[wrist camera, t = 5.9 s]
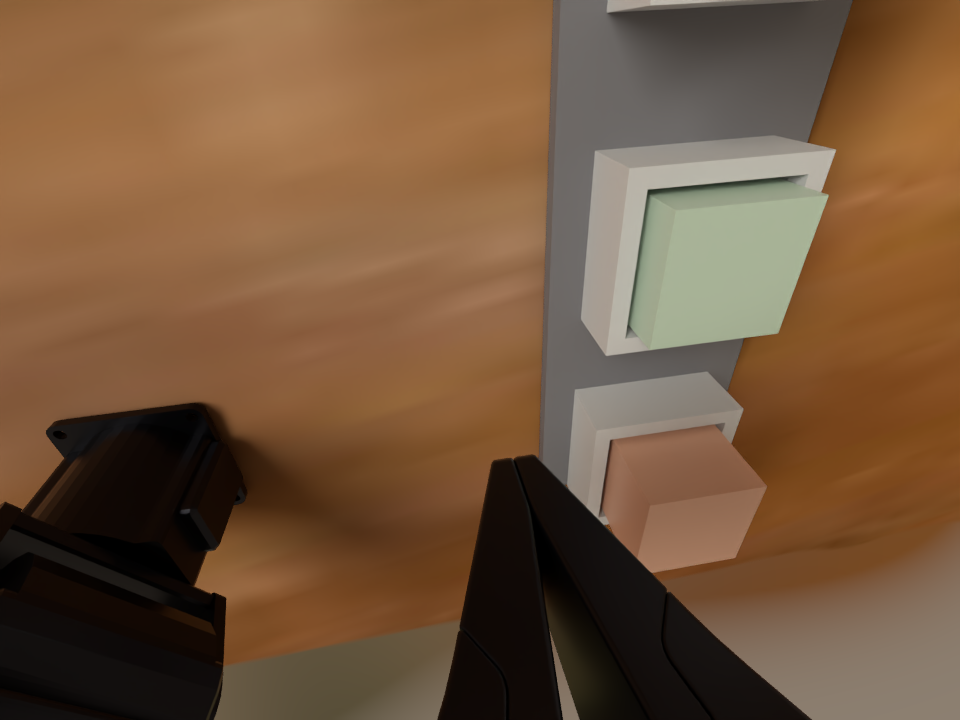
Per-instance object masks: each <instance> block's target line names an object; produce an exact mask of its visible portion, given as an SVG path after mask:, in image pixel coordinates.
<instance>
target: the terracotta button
mask: <svg viewBox="0 0 960 720" xmlns="http://www.w3.org/2000/svg"><path fill="white" fill-rule="evenodd" d="M766 488H767V485H766V484H765V483H764V482H763V481H762V480H761V478H760V477H759V476H758V475H757V474H756V472H755V471H754V470H753V469H752V468H751V467H750V465H749V464H748V463H747V462H746V461H745V460H744V458H743V457H742V456H741V455H740V454H739V452H738V451H737V450H736V449H735V448H734V447H733V445H732V444H731V443H730V442H729V441H728V440H727V438H726V437H725V436H724V435H723V434H722V432H721V431H720V430H719V429H718V428H717V427H716V425H715V424H713V425H706V426H699V427H693V428H686V429H679V430H673V431H666V432H659V433H653V434H646V435H639V436H632V437H626V438H619V439H612V440H611V442H610V449H609V455H608V462H607V468H606V475H605V482H604V488H603V495H602V501H601V507H602V509H603V511H604V513H605V515H606V518H607V520H608V522H609V524H610V527H611V529H612V531H613V533H614V535H615V537H616V538H617V539H618V540H619V541H620V542H621V543H622V544H623V545H624V546H625V547H626V548H627V549H628V550H629V551H630V552H631V553H632V554H633V555H634V556H635V557H636V558H637V559H638V560H639V561H640V562H641V563H642V564H643V565H644V566H645V567H646V568H647V569H648V570H649V571H650V572H651V573H654V572H659V571H665V570H671V569H676V568H682V567H687V566H693V565H698V564H704V563H710V562H715V561H721V560H726V559H732V558H735V557H736V555H737V553H738V550H739V548H740V546H741V544H742V541H743V539H744V537H745V535H746V533H747V530H748V528H749V526H750V524H751V521H752V519H753V517H754V515H755V513H756V510H757V508H758V506H759V504H760V502H761V499H762V497H763V495H764V493H765V490H766Z"/></svg>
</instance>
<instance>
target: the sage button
mask: <svg viewBox="0 0 960 720" xmlns="http://www.w3.org/2000/svg"><path fill="white" fill-rule="evenodd" d="M828 196H829V195H827V194H824V193H821V192H818V191H815V190H812V189H809V188H806V187H803V186H800V185H798V184H795V183H792V182H789V181H786V180H783V179H780V178H777V177H775V178H764V179H754V180H743V181H733V182H722V183H712V184H701V185H691V186H680V187H670V188H659V189H649V190H647V197H646V204H645V210H644V217H643V224H642V230H641V237H640V244H639V250H638V257H637V264H636V270H635V277H634V284H633V290H632V297H631V303H630V310H629V317H628V323H627V324H628V325H629V326H630V327H631V329H632V330H633V331H634V332H635V333H636V334H637V336H638V337H639V338H640V339H641V340H642V342H643V343H644V344H645V345H646V346H647V348H648V349H649V350H655V349H662V348H670V347H678V346H685V345H693V344H701V343H708V342H716V341H724V340H731V339H739V338H746V337H754V336H762V335H769V334H777V333H778V332H779V329H780V327H781V324H782V321H783V319H784V316H785V313H786V310H787V308H788V305H789V302H790V300H791V297H792V294H793V291H794V289H795V286H796V283H797V280H798V278H799V275H800V272H801V270H802V267H803V264H804V261H805V259H806V256H807V253H808V251H809V248H810V245H811V242H812V240H813V237H814V234H815V231H816V229H817V226H818V223H819V221H820V218H821V215H822V212H823V210H824V207H825V204H826V202H827V199H828Z"/></svg>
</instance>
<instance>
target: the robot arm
mask: <svg viewBox="0 0 960 720" xmlns="http://www.w3.org/2000/svg"><path fill="white" fill-rule="evenodd" d="M190 413H193V414H196V415H197V416H193V415H191V414H190ZM61 431H62V432H61ZM46 434H47V437H48V438H49V439H50V440H51V442H52V443H53V444H54V445H55V447H56V448H57V449H58V450H59V452H60V453H61V454H62V456H63V457H64V459H63V461H62V462H61V463H60V464H59V466H58V467H57V468H56V469H55V471H54V472H53V473H52V474H51V476H50V477H49V478H48V479H47V481H46V482H45V483H44V484H43V486H42V487H41V488H40V489H39V491H38V492H37V493H36V494H35V496H34V497H33V498H32V499H31V500H30V502H29V503H28V504H27V505H26V507H25V508H24V509H23V510H22V509H21V508H18V507H16V506H14V505H11V504H9V503H7V502H4V503H2V504H1V505H0V720H214V717H215V715H216V712H217V708H218V705H219V701H220V697H221V691H222V681H223V680H222V679H223V659H224V637H225V615H226V597H224V596H221V595H219V594H217V593H212V594H210V593H208V592H206V591H203V590H201V589H199V588H196V587H194V586H195V583H196V581H197V578H198V575H199V572H200V570H201V567H202V564H203V562H204V559H205V556H206V554H207V551H213V550H216V548H217V547H218V546H219V544H220V542H221V539H222V536H223V534H224V531H225V528H226V525H227V522H228V519H229V517H230V514H231V511H232V508H233V505H237V504H241V503H243V502H244V501H245V499H246V496H247V489H246V487H245V485H244V483H243V481H242V480H243V476H242V474H241V472H240V470H239V468H238V466H237V464H236V462H235V460H234V458H233V456H232V454H231V452H230V450H229V448H228V446H227V444H226V443H225V442H224V441H222V440H221V438H220V436H219V434H218V432H217V430H216V428H215V426H214V424H213V422H212V420H211V418H210V416H209V414H208V412H207V410H206V409H205V408H204V407H203V406H201V405H199V404H196V403H190V404H182V405H174V406H166V407H159V408H151V409H143V410H136V411H128V412H120V413H112V414H105V415H97V416H89V417H81V418H74V419H66V420H59V421H55V422H54V423H53V424H52V425H51V426H50V427H49V428H48V429H47V430H46ZM21 511H22V512H21ZM549 629H550V631H549ZM550 632H551V635H552V638H553V641H554V644H555V647H556V650H557V653H558V656H559V659H560V662H561V665H562V668H563V671H564V674H565V677H566V680H567V683H568V686H569V689H570V691H571V695H572V698H573V700H574V704H575V707H576V710H577V713H578V716H579V719H580V720H812V719H810V718H809V717H808V716H807V715H806V714H805V713H803V712H802V711H801V710H800V709H799V708H797V707H796V706H795V705H794V704H793V703H792V702H790V701H789V700H788V699H787V698H786V697H784V696H783V695H782V694H781V693H780V692H779V691H778V690H776V689H775V688H774V687H773V686H772V685H770V684H769V683H768V682H767V681H766V680H765V679H763V678H762V677H761V676H760V675H759V674H758V673H756V672H755V671H754V670H753V669H751V668H750V667H749V666H748V665H747V664H746V663H745V662H744V661H743V660H741V659H740V658H739V657H738V656H737V655H735V654H734V653H733V652H732V651H731V650H730V649H729V648H728V647H727V646H726V645H724V644H723V643H722V642H721V641H720V640H719V639H718V638H716V637H715V636H714V635H713V634H712V633H711V632H710V631H709V630H708V629H707V628H706V627H705V626H704V625H703V624H702V623H701V622H700V621H699V620H698V619H697V618H696V617H695V616H694V615H693V614H692V613H691V612H690V611H689V610H687V608H686V607H685V606H684V605H683V604H682V603H681V602H680V601H679V600H678V599H677V598H676V597H675V596H674V595H673V594H672V593H671V592H667V589H666V587H665V586H664V585H663V584H662V583H661V582H660V581H659V580H658V579H657V578H656V577H655V576H654V575H653V574H652V573H651V572H650V571H649V570H648V569H647V568H646V567H645V566H644V565H643V564H642V563H641V562H640V561H639V560H638V559H637V558H636V557H635V556H634V555H633V554H632V553H631V552H630V551H629V550H628V549H627V548H626V547H625V546H624V545H623V544H622V543H621V542H620V541H619V540H618V539H617V538H616V537H615V536H614V535H613V534H612V533H611V532H610V530H609V529H608V528H607V527H606V526H605V525H604V524H603V523H602V522H601V521H600V520H599V519H598V518H597V517H596V516H595V515H594V514H593V513H592V512H591V511H590V510H589V509H588V508H587V507H586V506H585V505H584V504H583V503H582V502H581V501H580V500H579V499H578V498H577V497H576V496H575V495H574V494H573V493H572V492H571V491H570V490H569V489H568V488H567V487H566V486H565V485H564V484H563V483H562V482H561V481H560V480H559V479H558V478H557V477H556V476H555V475H554V474H553V473H552V472H551V471H550V470H549V469H548V468H547V467H546V466H545V465H544V464H543V463H542V462H541V461H540V460H539V459H538V458H537V457H536V456H535V455H525V456H519V457H515V458H514V460H513V459H512V458H505V459H498V460H494V461H493V462H492V464H491V469H490V474H489V479H488V484H487V489H486V494H485V499H484V504H483V509H482V514H481V520H480V525H479V530H478V535H477V540H476V545H475V550H474V555H473V560H472V565H471V571H470V576H469V581H468V586H467V591H466V596H465V601H464V606H463V611H462V616H461V622H460V631H459V632H458V635H457V640H456V646H455V651H454V656H453V660H452V665H451V669H450V673H449V678H448V682H447V687H446V691H445V695H444V698H443V702H442V706H441V708H440V712H439V716H438V720H563V717H562V710H561V704H560V697H559V691H558V684H557V677H556V671H555V664H554V657H553V652H552V645H551V638H550Z"/></svg>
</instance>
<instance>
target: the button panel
mask: <svg viewBox="0 0 960 720" xmlns="http://www.w3.org/2000/svg"><path fill="white" fill-rule="evenodd" d="M852 2H853V0H553V30H552V62H551V94H550V126H549V157H548V189H547V221H546V253H545V284H544V316H543V348H542V380H541V412H540V443H539V460H540V461H541V462H542V463H543V464H544V465H545V466H546V467H547V468H548V469H549V470H550V471H551V472H552V473H553V474H554V475H555V476H556V477H557V478H558V479H559V480H560V481H561V482H562V483H563V484H564V485H566V484H567V485H568V488H569V490H570V491H571V492H572V493H573V494H574V495H575V496H576V497H577V498H578V499H579V500H580V501H581V502H582V503H583V504H584V505H585V506H586V507H587V508H588V509H589V510H590V511H591V512H592V513H593V514H594V515H595V516H596V517H597V518H598V519H599V520H600V521H601V522H602V523H603V524H604V525H606V524H609V522H608V520H607V518H606V515H605V513H604V511H603V509H602V507H601V501H602V495H603V488H604V482H605V475H606V468H607V462H608V455H609V449H610V442H611V440H612V439H619V438H626V437H632V436H639V435H646V434H653V433H659V432H666V431H673V430H679V429H686V428H693V427H699V426H706V425H713V424H715V425H716V427H717V428H718V429H719V430H720V431H721V432H722V434H723V435H724V436H725V437H726V438H727V440H728V441H729V442H730V443H732V440H733V438H734V435H735V432H736V429H737V426H738V424H739V421H740V418H741V415H742V412H743V410H744V409H743V408H742V407H741V406H740V405H739V404H738V403H737V402H736V401H735V400H734V399H733V397H732V396H731V395H730V394H729V393H728V392H727V390H728V387H729V384H730V381H731V378H732V375H733V372H734V369H735V366H736V362H737V359H738V356H739V353H740V350H741V347H742V344H743V341H744V338H739V339H731V340H724V341H716V342H708V343H701V344H693V345H685V346H678V347H670V348H662V349H655V350H649V349H648V348H647V346H646V345H645V344H644V343H643V342H642V340H641V339H640V338H639V337H638V336H637V334H636V333H635V332H634V331H633V330H632V329H631V327H630V326H629V325H628V324H627V323H628V317H629V310H630V303H631V297H632V290H633V284H634V277H635V270H636V264H637V257H638V250H639V244H640V237H641V230H642V224H643V217H644V210H645V204H646V197H647V190H649V189H659V188H670V187H680V186H691V185H701V184H712V183H722V182H733V181H743V180H754V179H764V178H775V177H777V178H780V179H783V180H786V181H789V182H792V183H795V184H798V185H800V186H803V187H806V188H809V189H812V190H815V191H818V192H821V191H822V188H823V185H824V183H825V180H826V177H827V174H828V171H829V169H830V166H831V163H832V160H833V157H834V155H835V152H836V149H831V148H827V147H823V146H818V145H814V144H810V143H807V142H808V138H809V135H810V132H811V129H812V126H813V123H814V120H815V117H816V114H817V110H818V107H819V104H820V101H821V98H822V95H823V92H824V89H825V86H826V82H827V79H828V76H829V73H830V70H831V67H832V64H833V61H834V58H835V54H836V51H837V48H838V45H839V42H840V39H841V36H842V33H843V30H844V26H845V23H846V20H847V17H848V14H849V11H850V8H851V5H852ZM769 335H770V334H769ZM754 337H755V336H754ZM746 338H747V337H746Z"/></svg>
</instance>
